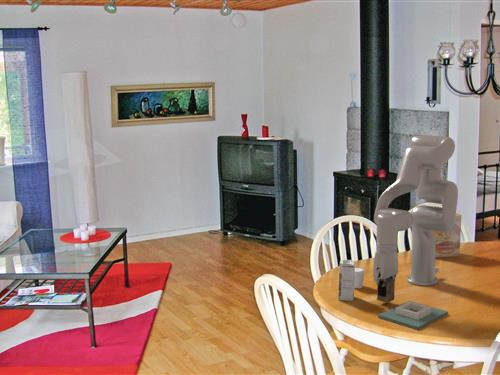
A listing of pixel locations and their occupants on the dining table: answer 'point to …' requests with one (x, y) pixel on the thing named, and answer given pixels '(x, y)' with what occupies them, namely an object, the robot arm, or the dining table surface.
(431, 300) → the dining table surface
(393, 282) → the grey metal plug
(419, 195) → the robot arm
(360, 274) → the white grey cup
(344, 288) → the syrup box
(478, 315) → the dining table surface
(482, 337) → the dining table surface
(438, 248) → the coffeecake box
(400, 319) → the socket board
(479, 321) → the dining table surface
